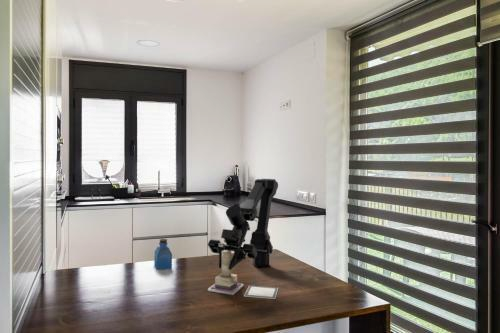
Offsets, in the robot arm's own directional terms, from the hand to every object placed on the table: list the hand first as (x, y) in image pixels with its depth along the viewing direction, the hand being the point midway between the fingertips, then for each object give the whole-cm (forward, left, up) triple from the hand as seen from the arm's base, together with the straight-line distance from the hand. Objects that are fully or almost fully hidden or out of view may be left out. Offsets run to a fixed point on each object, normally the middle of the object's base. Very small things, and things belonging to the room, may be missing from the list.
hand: (224, 268), depth 141 cm
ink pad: (-1, -1, -8) cm, 8 cm away
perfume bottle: (+17, -35, -8) cm, 40 cm away
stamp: (-1, -1, -7) cm, 7 cm away
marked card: (-12, +6, -8) cm, 16 cm away
